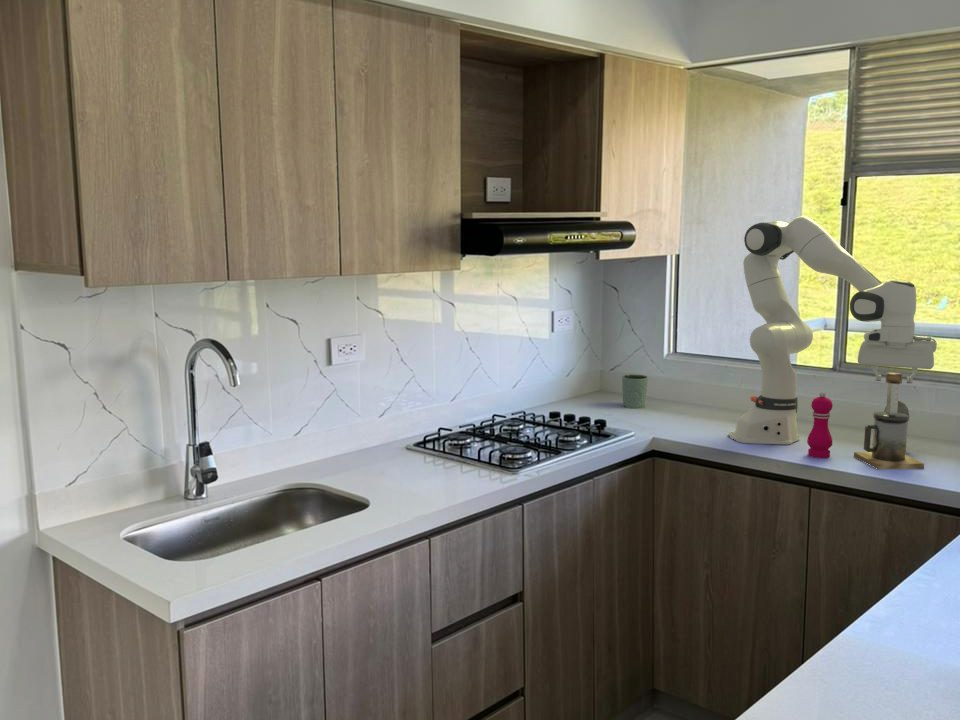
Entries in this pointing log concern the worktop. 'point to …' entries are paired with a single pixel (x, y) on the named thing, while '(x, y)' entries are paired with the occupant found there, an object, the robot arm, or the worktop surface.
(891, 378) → the plunger
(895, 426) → the press
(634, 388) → the green cup
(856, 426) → the worktop surface
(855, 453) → the plate
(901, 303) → the robot arm
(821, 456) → the pepper mill
